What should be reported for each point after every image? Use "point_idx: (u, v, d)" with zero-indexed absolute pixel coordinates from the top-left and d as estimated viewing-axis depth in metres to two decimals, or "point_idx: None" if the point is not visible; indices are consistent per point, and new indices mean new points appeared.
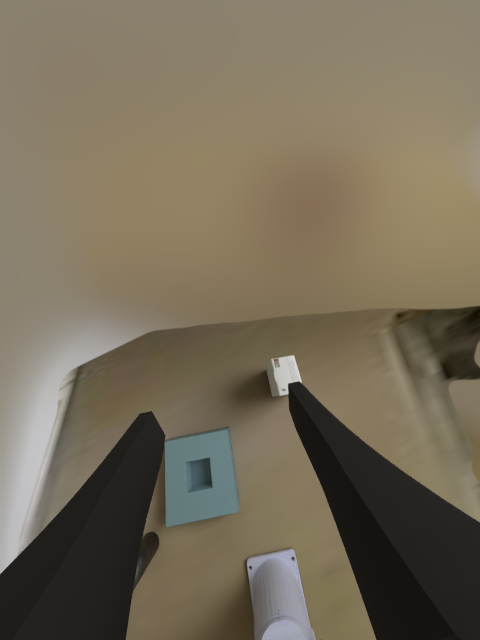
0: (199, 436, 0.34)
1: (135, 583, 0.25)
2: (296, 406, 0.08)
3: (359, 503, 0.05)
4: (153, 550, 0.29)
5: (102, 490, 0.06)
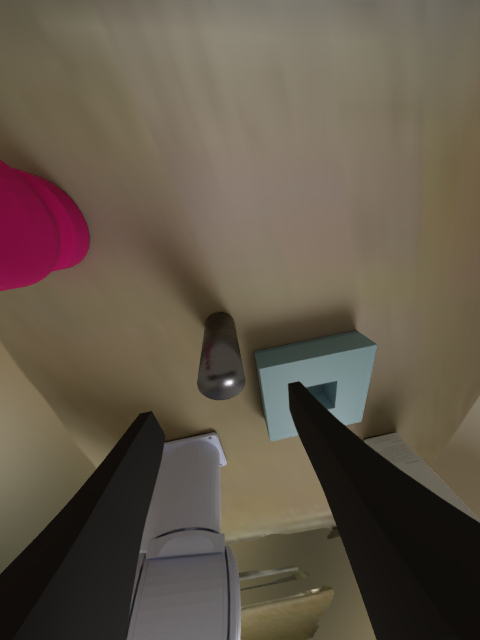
0: (365, 392, 0.21)
1: None
2: (296, 406, 0.08)
3: (360, 503, 0.05)
4: None
5: (102, 490, 0.06)
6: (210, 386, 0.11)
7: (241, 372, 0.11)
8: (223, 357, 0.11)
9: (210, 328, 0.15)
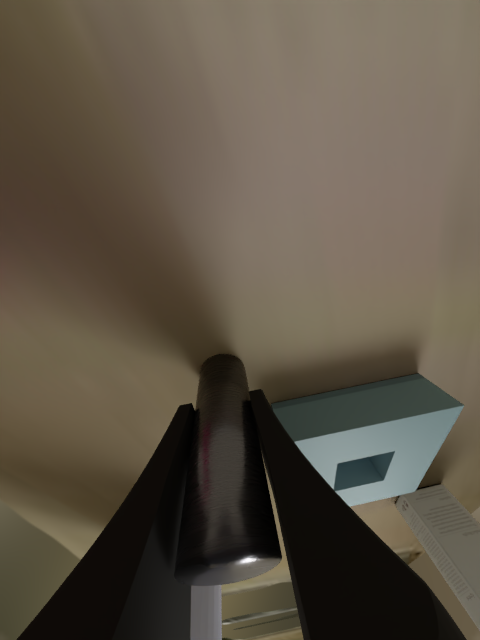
0: (429, 461, 0.15)
1: None
2: None
3: (282, 520, 0.05)
4: None
5: (164, 477, 0.06)
6: (204, 575, 0.05)
7: (275, 550, 0.05)
8: (234, 512, 0.05)
9: (207, 394, 0.09)
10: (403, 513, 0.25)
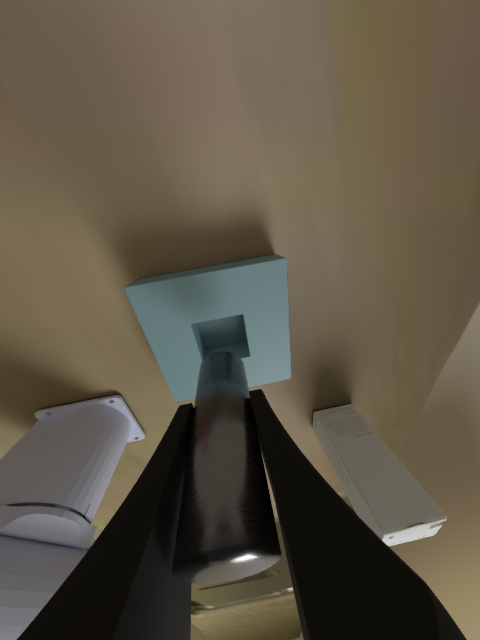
0: (286, 334, 0.16)
1: None
2: None
3: (282, 520, 0.05)
4: None
5: (164, 477, 0.06)
6: (204, 572, 0.05)
7: (272, 545, 0.05)
8: (227, 509, 0.05)
9: (203, 392, 0.09)
10: (316, 431, 0.26)
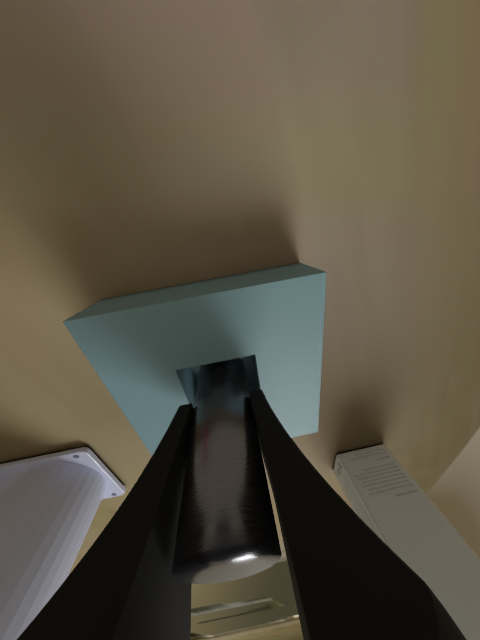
0: (316, 379, 0.11)
1: None
2: None
3: (282, 520, 0.05)
4: None
5: (164, 477, 0.06)
6: (204, 573, 0.05)
7: (272, 545, 0.05)
8: (227, 509, 0.05)
9: (203, 392, 0.09)
10: (339, 478, 0.21)
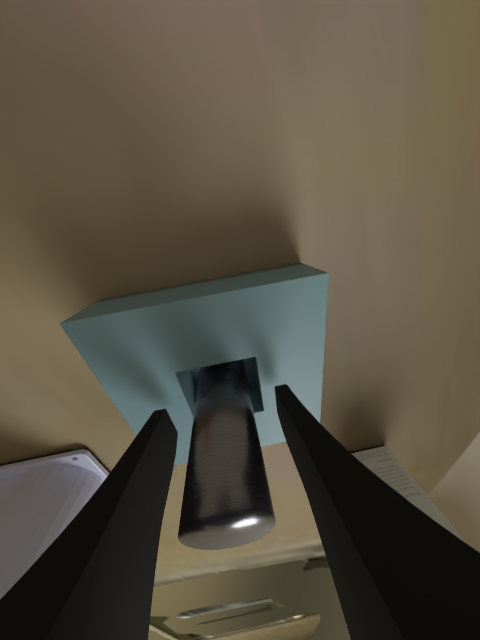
0: (318, 381, 0.11)
1: None
2: (281, 409, 0.08)
3: (333, 509, 0.05)
4: None
5: (124, 485, 0.06)
6: (206, 538, 0.06)
7: (267, 512, 0.05)
8: (227, 481, 0.06)
9: (205, 383, 0.10)
10: None
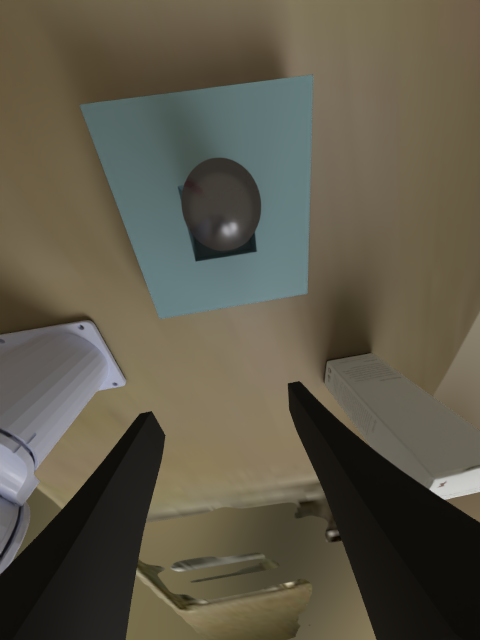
0: (305, 219, 0.12)
1: None
2: (296, 406, 0.08)
3: (359, 503, 0.05)
4: None
5: (102, 490, 0.06)
6: (204, 216, 0.07)
7: (254, 183, 0.07)
8: None
9: None
10: (329, 385, 0.22)
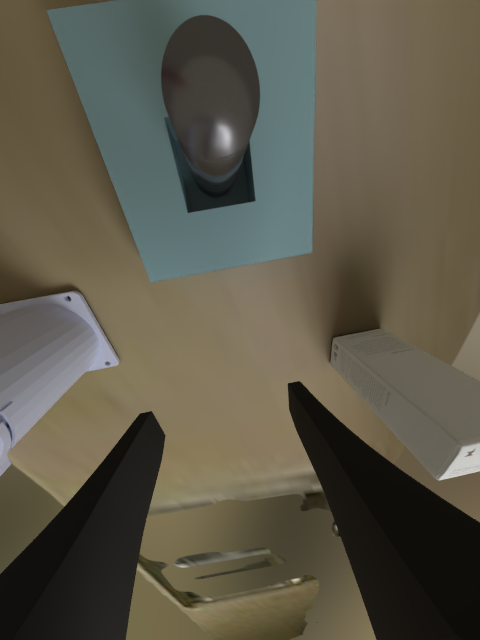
0: (309, 160, 0.11)
1: (217, 166, 0.07)
2: (296, 406, 0.08)
3: (360, 503, 0.05)
4: (223, 190, 0.12)
5: (102, 490, 0.06)
6: (191, 106, 0.06)
7: (250, 58, 0.05)
8: None
9: None
10: (335, 364, 0.21)
